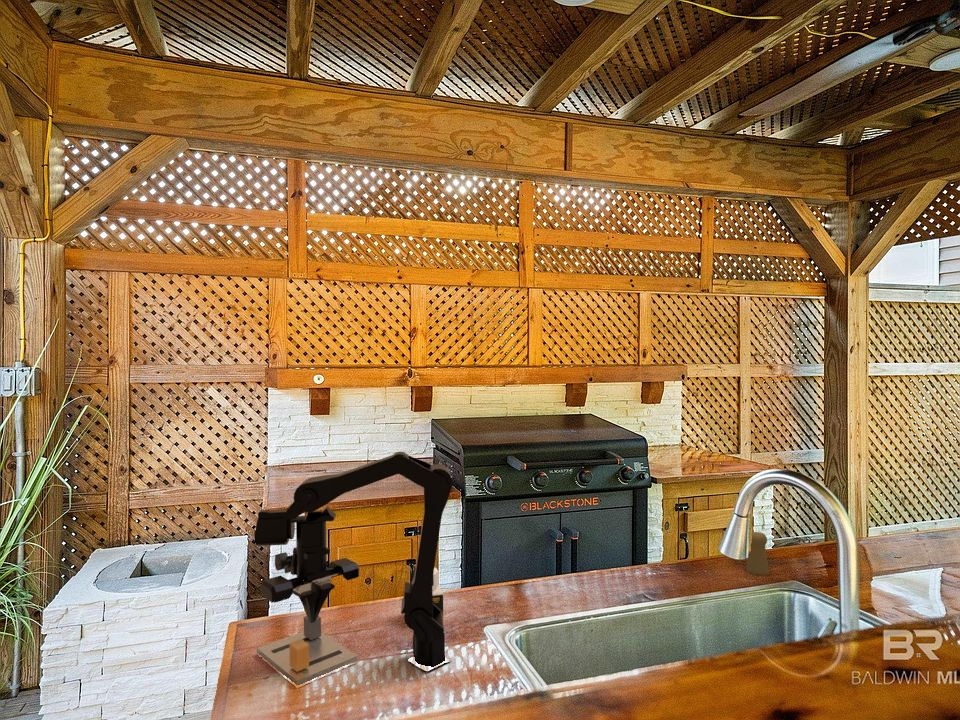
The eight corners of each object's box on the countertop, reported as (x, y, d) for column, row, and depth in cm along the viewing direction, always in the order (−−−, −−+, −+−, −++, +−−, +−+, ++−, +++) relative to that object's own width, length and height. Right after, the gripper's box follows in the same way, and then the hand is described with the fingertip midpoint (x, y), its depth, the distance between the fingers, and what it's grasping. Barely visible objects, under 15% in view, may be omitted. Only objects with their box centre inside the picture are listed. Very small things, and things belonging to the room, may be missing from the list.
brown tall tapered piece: (741, 569, 165) (740, 531, 166) (755, 566, 168) (755, 528, 168) (759, 576, 160) (758, 537, 160) (774, 572, 163) (773, 534, 163)
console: (357, 663, 116) (357, 655, 116) (297, 688, 107) (297, 680, 107) (314, 634, 129) (314, 627, 129) (257, 655, 120) (256, 647, 120)
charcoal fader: (321, 636, 124) (320, 615, 124) (310, 640, 122) (310, 619, 122) (314, 631, 126) (314, 611, 126) (303, 635, 124) (303, 615, 124)
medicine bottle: (413, 627, 131) (412, 575, 132) (408, 615, 138) (408, 565, 138) (443, 623, 133) (443, 571, 133) (437, 611, 140) (437, 562, 140)
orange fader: (309, 666, 111) (308, 644, 111) (296, 671, 109) (296, 648, 109) (301, 661, 113) (301, 639, 113) (289, 666, 112) (289, 643, 112)
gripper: (332, 525, 126) (333, 597, 126) (248, 545, 113) (248, 624, 113) (360, 536, 118) (361, 612, 118) (272, 558, 105) (273, 643, 105)
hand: (312, 622), depth 113 cm, fingers closed
